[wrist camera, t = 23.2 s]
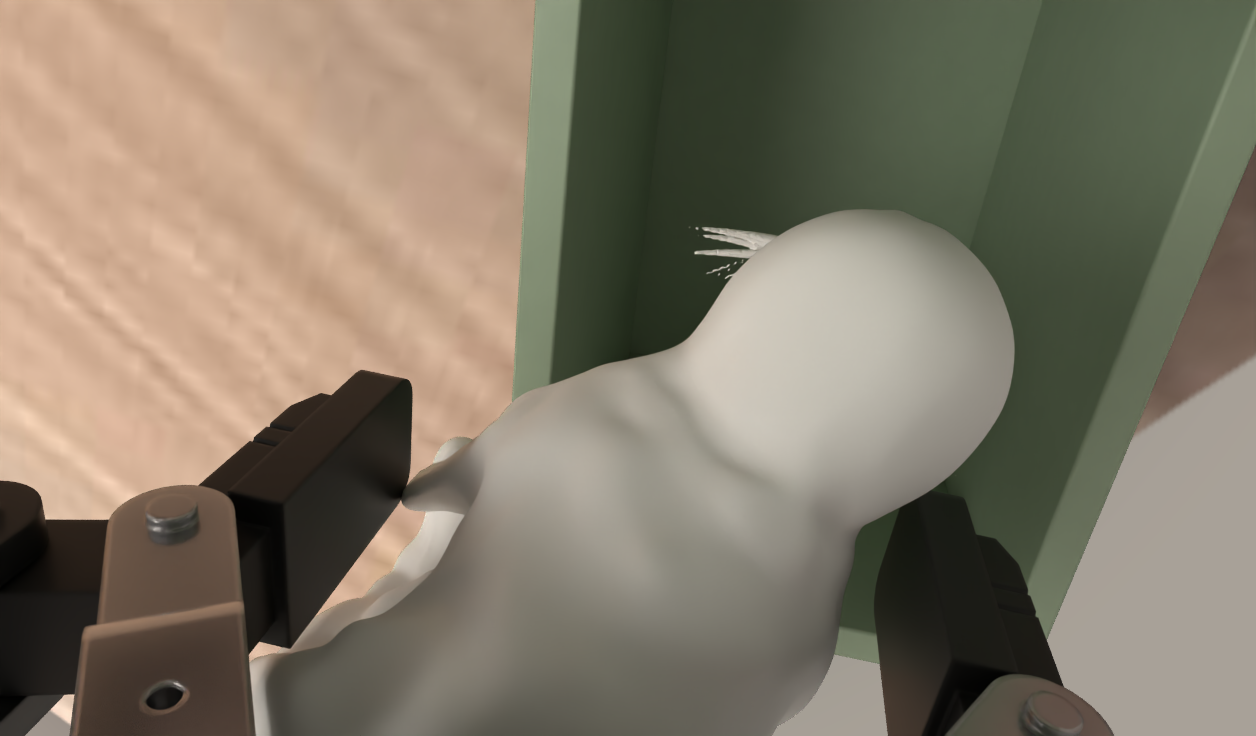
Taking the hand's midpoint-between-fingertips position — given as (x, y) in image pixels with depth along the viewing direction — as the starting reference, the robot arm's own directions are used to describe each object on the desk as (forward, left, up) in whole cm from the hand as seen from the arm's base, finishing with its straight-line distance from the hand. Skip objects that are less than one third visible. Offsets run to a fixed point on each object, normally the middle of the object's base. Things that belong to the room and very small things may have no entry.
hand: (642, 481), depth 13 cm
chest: (+3, +3, -17) cm, 17 cm away
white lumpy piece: (0, 0, -2) cm, 2 cm away
